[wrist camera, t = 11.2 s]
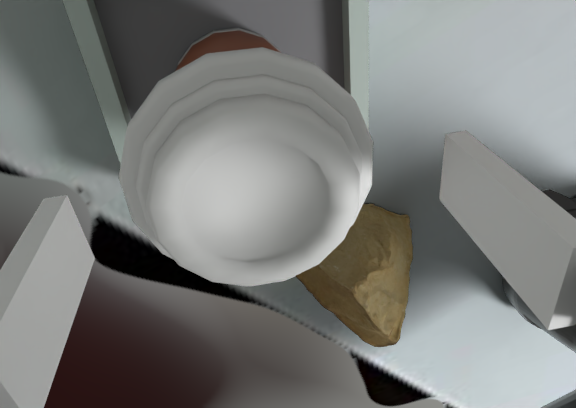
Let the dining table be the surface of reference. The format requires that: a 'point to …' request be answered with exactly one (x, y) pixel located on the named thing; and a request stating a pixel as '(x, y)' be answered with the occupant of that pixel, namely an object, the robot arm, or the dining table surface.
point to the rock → (367, 276)
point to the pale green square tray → (197, 23)
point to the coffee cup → (246, 161)
